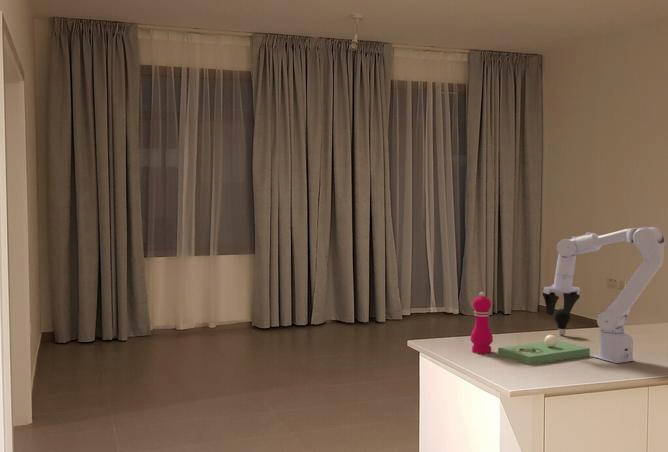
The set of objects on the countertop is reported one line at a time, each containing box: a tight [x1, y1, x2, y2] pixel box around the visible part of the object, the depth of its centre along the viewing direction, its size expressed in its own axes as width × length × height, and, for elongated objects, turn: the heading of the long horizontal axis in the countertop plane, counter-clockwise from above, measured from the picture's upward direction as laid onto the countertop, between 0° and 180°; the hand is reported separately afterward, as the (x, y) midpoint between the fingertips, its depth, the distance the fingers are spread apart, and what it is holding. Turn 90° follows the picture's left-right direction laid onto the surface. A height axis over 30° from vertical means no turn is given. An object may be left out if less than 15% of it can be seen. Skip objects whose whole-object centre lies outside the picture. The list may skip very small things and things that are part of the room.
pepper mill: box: [470, 291, 494, 355], centre depth 221 cm, size 7×7×20 cm
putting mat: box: [497, 339, 591, 366], centre depth 216 cm, size 14×26×2 cm, turn 117°
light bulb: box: [553, 308, 571, 337], centre depth 248 cm, size 6×6×10 cm
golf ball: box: [543, 334, 558, 347], centre depth 217 cm, size 4×4×4 cm
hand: (558, 314), depth 223 cm, fingers open, 7 cm apart
